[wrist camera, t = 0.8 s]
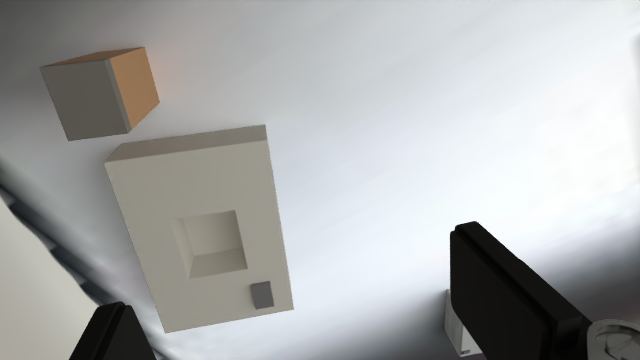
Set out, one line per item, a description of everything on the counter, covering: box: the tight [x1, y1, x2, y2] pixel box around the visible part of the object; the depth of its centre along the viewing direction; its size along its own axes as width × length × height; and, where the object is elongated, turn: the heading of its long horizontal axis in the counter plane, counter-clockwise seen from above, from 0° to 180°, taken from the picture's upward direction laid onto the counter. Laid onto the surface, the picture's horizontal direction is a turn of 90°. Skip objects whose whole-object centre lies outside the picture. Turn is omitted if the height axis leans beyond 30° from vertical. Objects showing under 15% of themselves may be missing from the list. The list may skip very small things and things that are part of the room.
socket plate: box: [103, 125, 294, 333], centre depth 39 cm, size 20×14×6 cm
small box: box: [444, 289, 482, 357], centre depth 51 cm, size 8×8×5 cm
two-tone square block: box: [39, 47, 160, 141], centre depth 30 cm, size 5×4×10 cm
